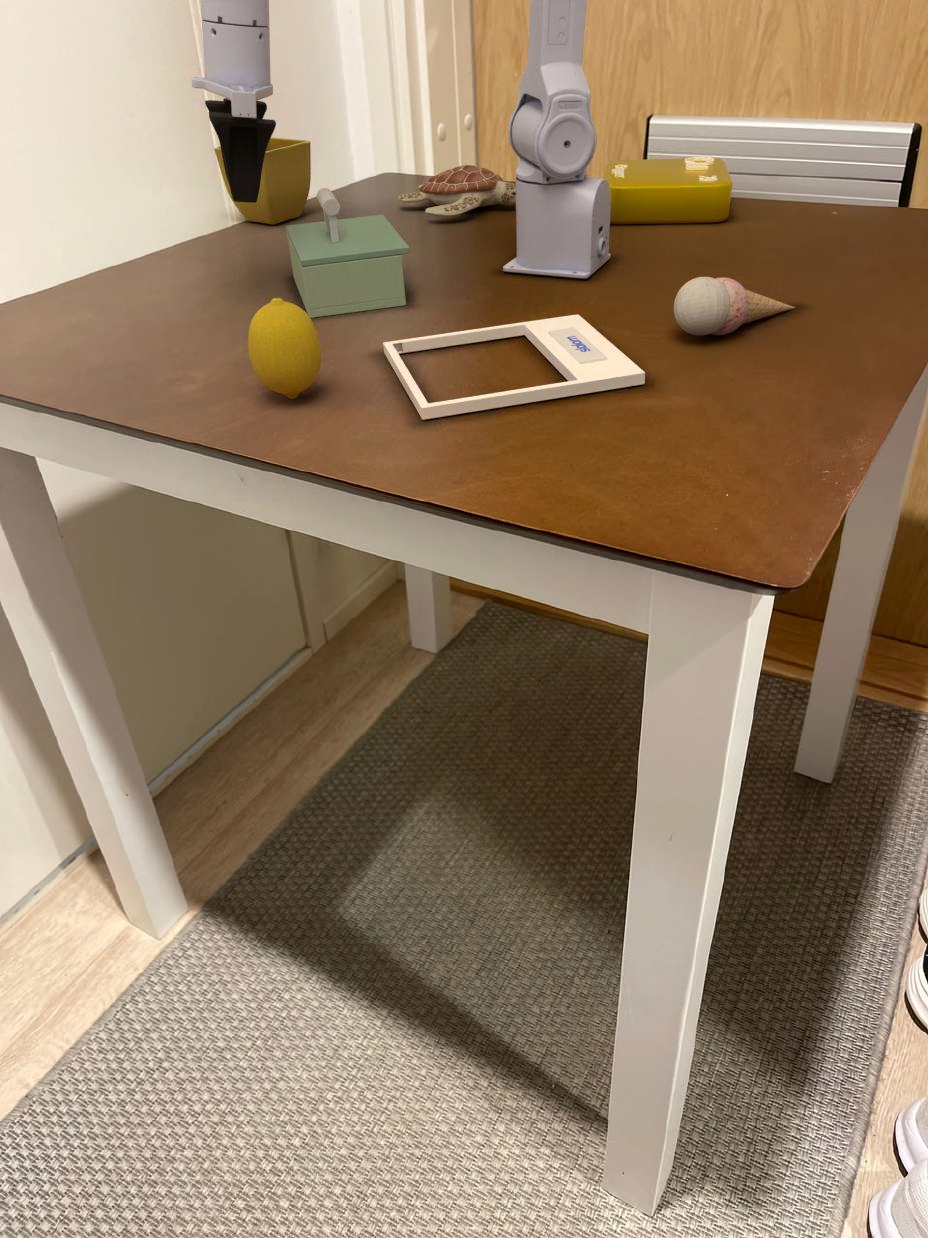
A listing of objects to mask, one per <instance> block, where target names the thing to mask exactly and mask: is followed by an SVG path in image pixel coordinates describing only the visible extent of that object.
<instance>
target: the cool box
mask: <svg viewBox="0 0 928 1238" xmlns="http://www.w3.org/2000/svg"><path fill="white" fill-rule="evenodd" d="M286 237H287V238H286V239H287V244H288V251H289V256H290V263H291V270H292V276H293V280H294V282H295V285H296V288H297V290H298V293H299V296H300V298H301V300H302V303H303V305H304V308H305V312H306V313H307V314H308V316H309V317H310V318H311V319H314V318H321V317H328V316H336V315H343V314H351V313H357V312H366V311H372V310H382V309H388V308H395V307H396V308H397V307H403V306H407V300H406V299H407V298H406V289H405V278H404V265H403V256H402V255H403V254H400V255H392V256H384V257H376V258H368V259H360V260H351V261H343V262H335V263H327V264H319V265H311V266H303V267H302V266H301V264H300V262H299V259H298V257H297V254H296V252H295V250H294V247H293V245H292V243H291V240H290V238H289V236H288V233H287V232H286Z"/></svg>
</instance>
